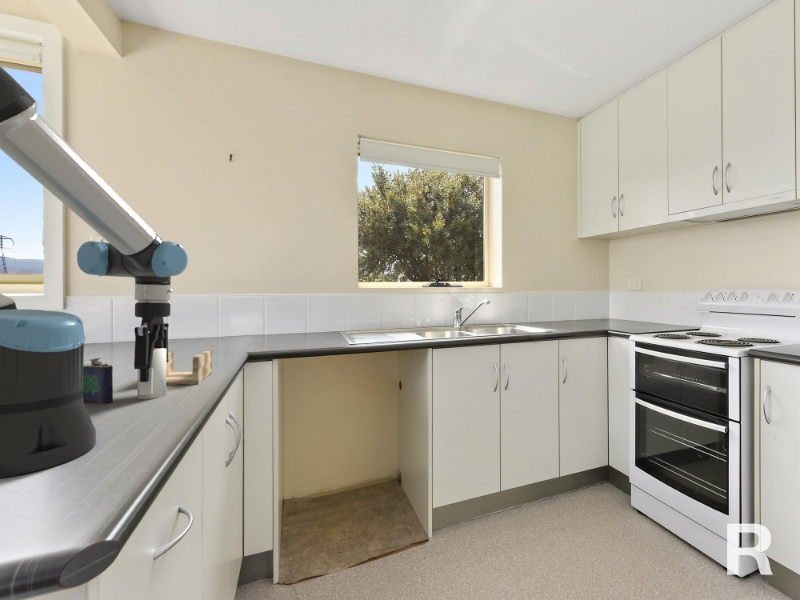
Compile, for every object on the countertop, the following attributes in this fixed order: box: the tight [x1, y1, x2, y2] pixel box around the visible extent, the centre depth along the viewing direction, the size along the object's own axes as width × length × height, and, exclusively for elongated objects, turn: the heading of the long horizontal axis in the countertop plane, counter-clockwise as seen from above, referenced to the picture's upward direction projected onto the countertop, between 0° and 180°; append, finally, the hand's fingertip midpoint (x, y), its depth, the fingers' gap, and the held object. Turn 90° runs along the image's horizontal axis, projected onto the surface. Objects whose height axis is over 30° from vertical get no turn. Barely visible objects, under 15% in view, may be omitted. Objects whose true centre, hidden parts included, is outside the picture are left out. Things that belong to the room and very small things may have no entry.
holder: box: [166, 349, 213, 386], centre depth 107 cm, size 14×13×8 cm
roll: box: [137, 348, 167, 400], centre depth 90 cm, size 6×6×12 cm
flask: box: [83, 357, 114, 405], centre depth 84 cm, size 9×3×11 cm, turn 83°
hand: (152, 390), depth 90 cm, fingers closed on roll, 6 cm apart
